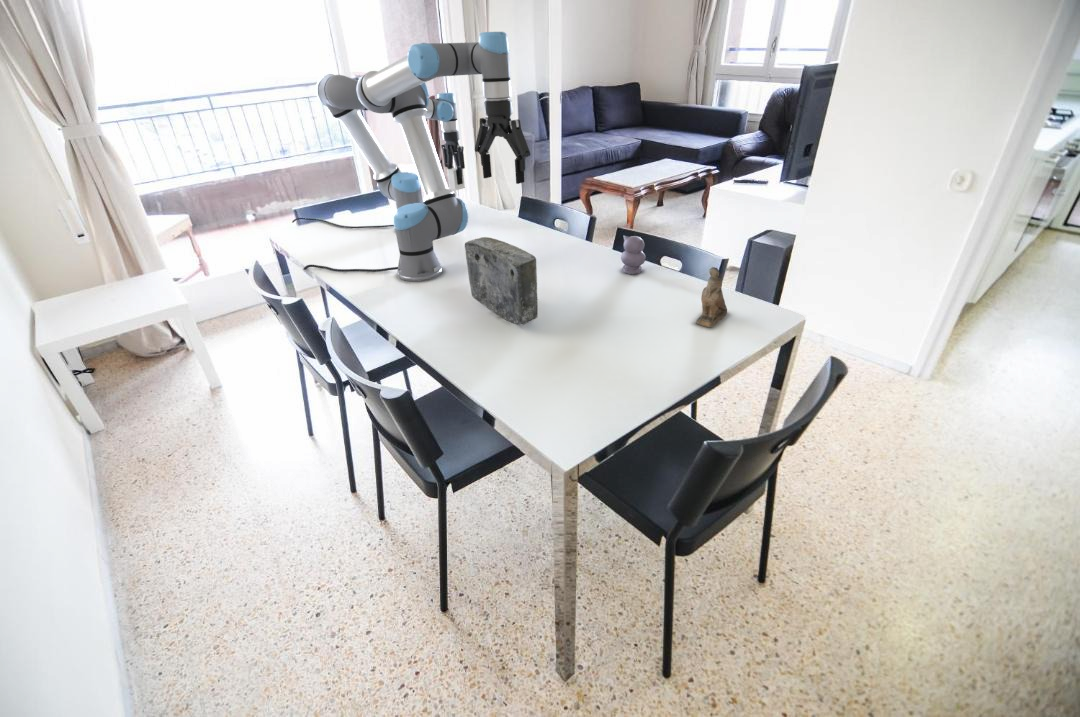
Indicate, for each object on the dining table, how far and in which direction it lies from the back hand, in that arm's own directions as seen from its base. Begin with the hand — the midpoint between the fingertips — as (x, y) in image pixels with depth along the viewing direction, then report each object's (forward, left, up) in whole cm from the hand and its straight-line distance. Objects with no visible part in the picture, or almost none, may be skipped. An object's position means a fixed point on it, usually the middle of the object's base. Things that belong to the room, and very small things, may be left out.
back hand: (456, 183), depth 240 cm
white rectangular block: (0, 0, -3) cm, 3 cm away
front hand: (+64, -79, +21) cm, 103 cm away
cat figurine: (+99, -55, -13) cm, 114 cm away
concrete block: (+71, -99, -13) cm, 122 cm away
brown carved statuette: (+128, -83, -13) cm, 153 cm away
